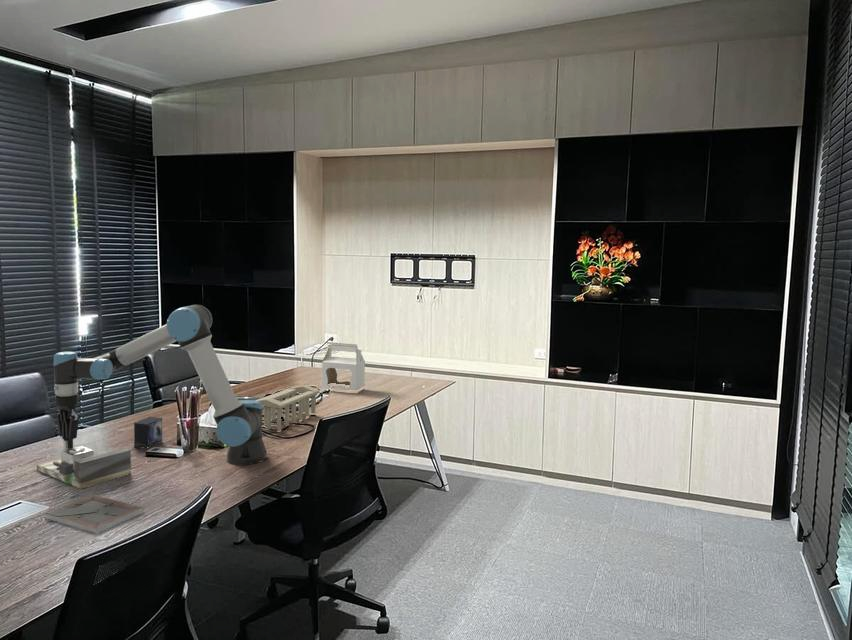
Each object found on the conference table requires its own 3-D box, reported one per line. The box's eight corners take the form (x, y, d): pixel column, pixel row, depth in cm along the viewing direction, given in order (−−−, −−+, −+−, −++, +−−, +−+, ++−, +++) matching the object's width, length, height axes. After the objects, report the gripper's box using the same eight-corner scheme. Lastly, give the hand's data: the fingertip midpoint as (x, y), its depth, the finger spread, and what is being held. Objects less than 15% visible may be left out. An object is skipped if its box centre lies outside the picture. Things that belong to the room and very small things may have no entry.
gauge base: (131, 474, 229) (130, 450, 228) (80, 489, 213) (79, 463, 212) (86, 457, 245) (85, 434, 244) (35, 470, 230) (34, 446, 229)
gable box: (321, 391, 369) (321, 343, 366) (330, 386, 382) (330, 340, 379) (356, 394, 364) (357, 346, 361) (364, 389, 376) (365, 343, 373)
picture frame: (46, 520, 191) (96, 535, 182) (46, 512, 190) (96, 527, 182) (94, 501, 206) (143, 514, 197) (94, 494, 205) (143, 506, 197)
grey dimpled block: (93, 463, 232) (93, 449, 232) (57, 473, 222) (57, 458, 221) (82, 458, 237) (81, 444, 236) (46, 468, 226) (45, 453, 225)
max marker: (72, 473, 221) (72, 465, 221) (65, 475, 219) (65, 466, 219) (66, 470, 224) (66, 462, 223) (59, 472, 222) (59, 464, 221)
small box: (147, 449, 257) (147, 424, 256) (133, 447, 258) (132, 422, 257) (163, 441, 267) (163, 417, 266) (149, 440, 269) (149, 416, 267)
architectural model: (280, 433, 284) (280, 401, 282) (251, 429, 289) (251, 397, 288) (318, 415, 317) (319, 386, 315) (292, 411, 322) (292, 383, 320)
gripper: (46, 393, 232) (49, 455, 235) (65, 398, 225) (67, 462, 228) (67, 389, 239) (69, 450, 241) (86, 394, 232) (88, 457, 234)
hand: (68, 456), depth 235 cm, fingers closed
